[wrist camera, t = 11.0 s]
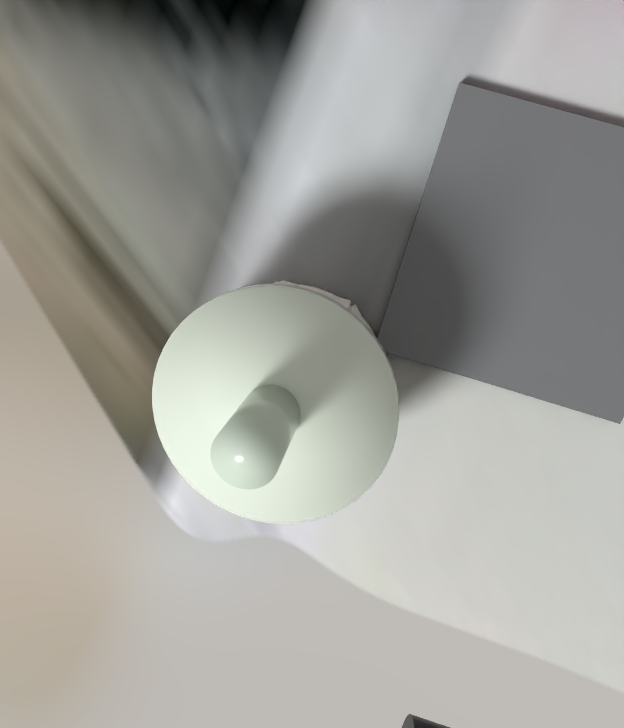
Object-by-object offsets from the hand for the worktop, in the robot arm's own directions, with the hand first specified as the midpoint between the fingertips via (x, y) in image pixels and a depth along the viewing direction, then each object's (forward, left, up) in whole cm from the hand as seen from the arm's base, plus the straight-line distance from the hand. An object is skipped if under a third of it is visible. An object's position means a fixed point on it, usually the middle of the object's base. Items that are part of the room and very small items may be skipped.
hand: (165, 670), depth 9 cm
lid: (+1, +2, -19) cm, 19 cm away
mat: (-10, -7, -24) cm, 27 cm away
